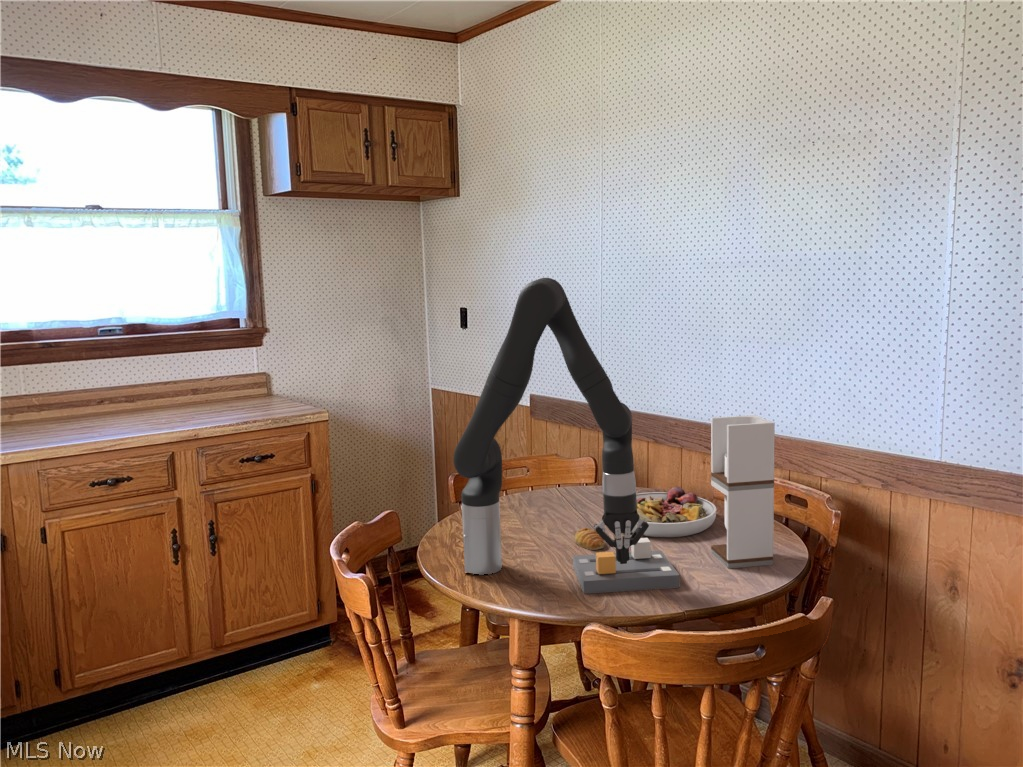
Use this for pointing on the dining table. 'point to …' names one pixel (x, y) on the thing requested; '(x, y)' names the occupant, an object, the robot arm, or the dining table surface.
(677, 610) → the dining table surface
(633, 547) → the on slider
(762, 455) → the white upright stand
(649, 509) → the bowl
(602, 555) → the slider
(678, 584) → the switch panel
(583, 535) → the pastry
